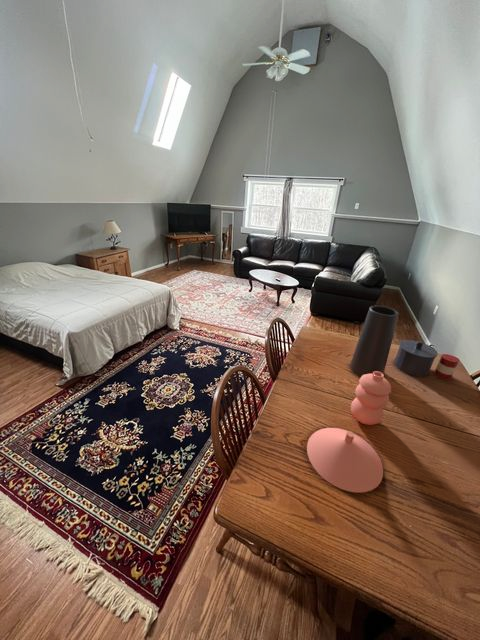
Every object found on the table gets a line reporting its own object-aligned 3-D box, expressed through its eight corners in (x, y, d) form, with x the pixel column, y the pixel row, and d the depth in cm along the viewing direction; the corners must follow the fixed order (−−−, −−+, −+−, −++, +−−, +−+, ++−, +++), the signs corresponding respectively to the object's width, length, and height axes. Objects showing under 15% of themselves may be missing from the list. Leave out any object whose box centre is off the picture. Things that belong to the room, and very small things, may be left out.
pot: (421, 361, 127) (428, 343, 123) (433, 378, 115) (441, 359, 111) (390, 356, 130) (396, 339, 126) (399, 373, 118) (406, 354, 114)
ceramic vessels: (370, 510, 65) (393, 457, 57) (294, 459, 77) (303, 409, 69) (400, 426, 90) (419, 381, 82) (339, 397, 102) (350, 355, 94)
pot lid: (428, 344, 124) (431, 336, 122) (442, 361, 111) (446, 353, 109) (394, 340, 126) (397, 332, 125) (404, 356, 114) (407, 347, 112)
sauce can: (447, 372, 120) (455, 355, 116) (454, 380, 114) (462, 363, 110) (431, 369, 121) (439, 352, 117) (437, 378, 115) (445, 360, 112)
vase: (344, 369, 119) (359, 308, 106) (358, 358, 127) (374, 301, 115) (375, 384, 110) (395, 320, 97) (388, 371, 118) (408, 311, 106)
